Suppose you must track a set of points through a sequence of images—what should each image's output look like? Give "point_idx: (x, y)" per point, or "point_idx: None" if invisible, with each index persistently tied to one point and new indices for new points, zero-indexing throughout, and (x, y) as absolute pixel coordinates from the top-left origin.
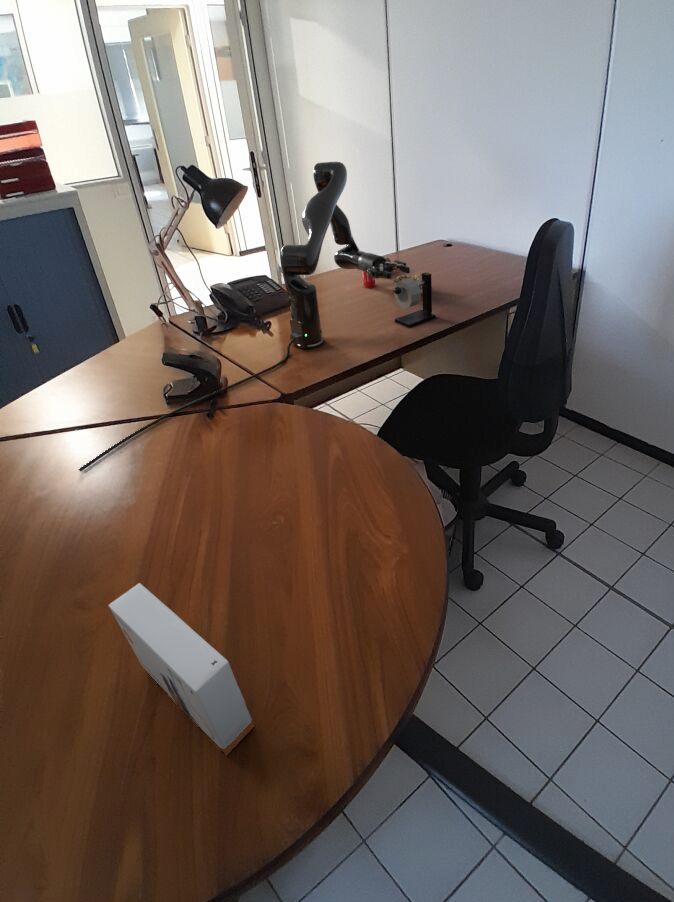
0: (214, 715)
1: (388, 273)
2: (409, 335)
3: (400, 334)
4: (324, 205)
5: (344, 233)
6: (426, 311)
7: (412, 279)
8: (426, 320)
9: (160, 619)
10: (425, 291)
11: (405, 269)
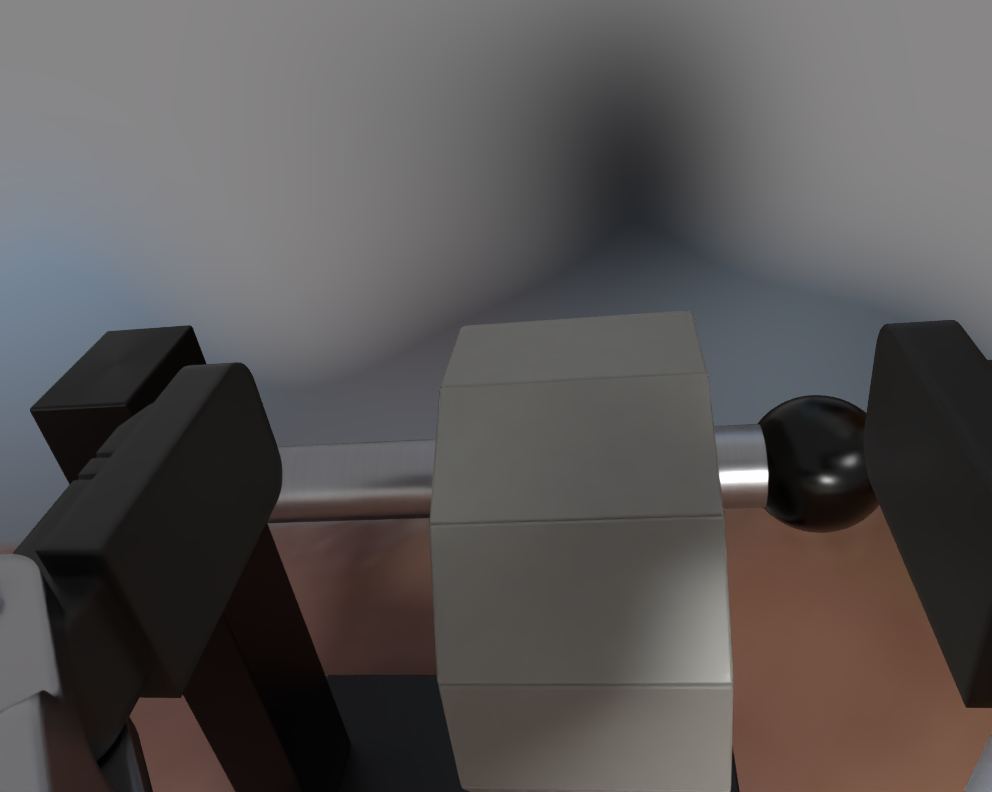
0: None
1: (956, 347)
2: (823, 576)
3: (895, 639)
4: None
5: None
6: (336, 750)
7: (471, 345)
8: None
9: None
10: (260, 574)
11: (221, 476)
